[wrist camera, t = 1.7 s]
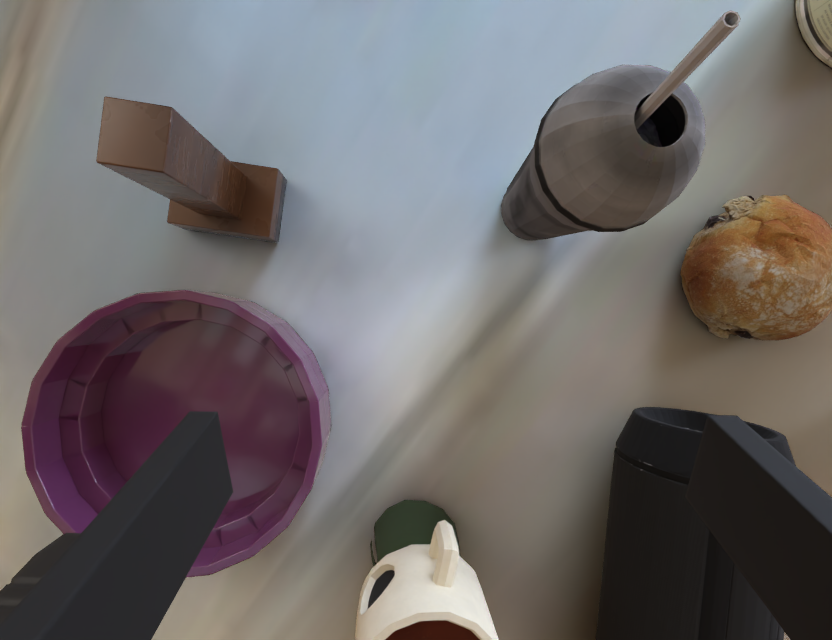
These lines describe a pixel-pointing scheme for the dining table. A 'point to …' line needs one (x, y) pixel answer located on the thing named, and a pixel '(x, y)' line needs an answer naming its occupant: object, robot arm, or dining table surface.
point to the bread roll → (760, 269)
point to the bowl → (179, 411)
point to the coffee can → (816, 26)
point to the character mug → (420, 581)
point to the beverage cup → (613, 149)
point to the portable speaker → (671, 542)
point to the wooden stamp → (190, 172)
